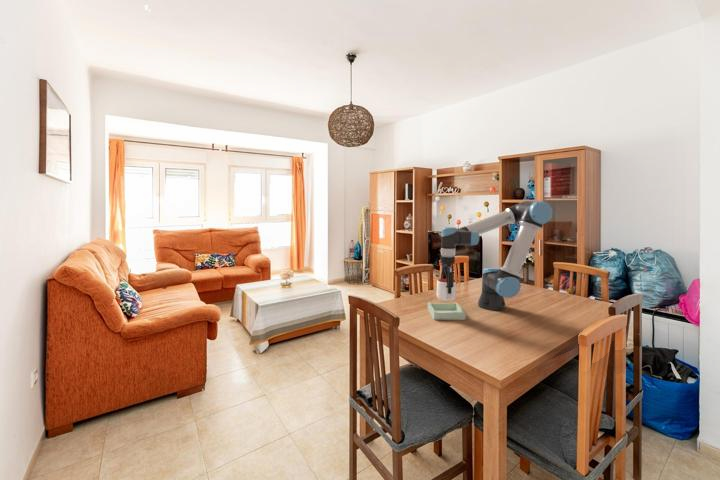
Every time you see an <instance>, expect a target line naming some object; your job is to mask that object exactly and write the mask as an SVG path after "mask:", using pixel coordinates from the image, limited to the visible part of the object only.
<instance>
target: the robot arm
mask: <svg viewBox="0 0 720 480" xmlns="http://www.w3.org/2000/svg"><path fill="white" fill-rule="evenodd" d="M552 218H553V209H552V207H551V205H550V204H549V203H548V202H546V201H542V200H541V201H540V200H534V201H533V200H525V201H522V202H519V203H516V204H514V205H512V206H509V207H507V208H505V209H504V211H502V212H499V213H496V214H493V215H491V216H489V217H485V218H484V219H481V220H478V221H476V222H473V223H470V224H467V225H465V226H462V227H459V228H457V227H453V226H444V227H442V228H441V235H440V237H441V239H440V240H441V242H440V243H441V245H440V249H439V252H440V259H439V260H440V261H439V262H440V263H441V272H440V278H439V279H447V286H446V299H452V287H454V286H453V280H454V268H453V267H452V265H454V264H455V263H456V246H477V245H478V244H479V242H480V236H481V235H483V234H485V233H488V232H491V231H493V230H496V229H499V228H501V227H503V226H506V225H509V224H511V225H514V224H517V223H519V225H520V226H519V228H518V231H517V232H516V235H515V237H514V240H513V243H512V245H511V246H510V249H509V251H508V255H507V256H506V259H505V261H504V263H503V266H501V267H485V268H483V269H482V275H481V277H482V278H481V279H482V280H481V293H480V296H479V297H478V300H477V306H478V307H480V308H482V309H485V310H488V311H489V310H490V311H503V310H505V309H506V301H505V298H506V299H507V298H508V299H509V298H513V297H515V296H517V295H518V294H519V292H520V291H521V287H522V286H521V282H520V280H521V277H522V276H521V269H522V268H523V265H524V264H525V261H526V258H527V256H528V254H529V252H530V249H531V246H532V244H533V242H534V240H535V237H536V235H537V233H538V231H541V230H542V229H543V227H544V224H547V223H549V222H550V221H551V219H552Z"/></svg>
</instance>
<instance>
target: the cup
mask: <svg viewBox="0 0 720 480" xmlns="http://www.w3.org/2000/svg"><path fill="white" fill-rule="evenodd" d="M446 286H447V279H440V278H438V279H437V281H436V298H437V299H439V300H441V301H447V302H449V301H450V302H451V301H454V300H455V299H457V298H456V297H457V296H456V295H457V280H455V279H453V286H454V287H452V299H446Z"/></svg>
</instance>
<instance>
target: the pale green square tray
mask: <svg viewBox="0 0 720 480" xmlns="http://www.w3.org/2000/svg"><path fill="white" fill-rule="evenodd" d="M427 311H428V313H429V314H430V316H431V317H432V319H433V320H434V321H466V315H467V313H466V310H464V309H463V307H461V305H460V304H459V303H458V302H430V301H428V302H427Z"/></svg>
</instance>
